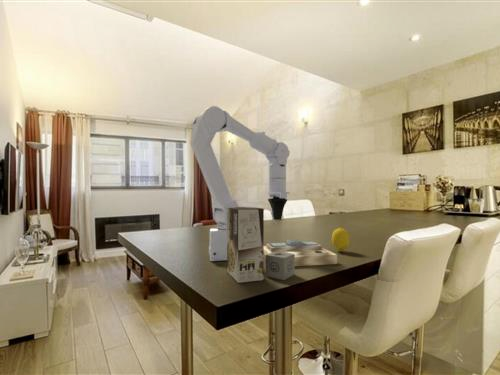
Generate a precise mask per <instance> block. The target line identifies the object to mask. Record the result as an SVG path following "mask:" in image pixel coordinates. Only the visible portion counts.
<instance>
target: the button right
mask: <svg viewBox="0 0 500 375" xmlns="http://www.w3.org/2000/svg"><path fill="white" fill-rule="evenodd" d="M301 242H302V244H303V245H305V246H314V245H317V244H318V243H317V242H315V241H301ZM314 242H315V243H314ZM316 243H317V244H316Z"/></svg>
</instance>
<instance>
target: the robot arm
mask: <svg viewBox="0 0 500 375" xmlns="http://www.w3.org/2000/svg"><path fill="white" fill-rule="evenodd" d="M191 127H192V130H191V138H190V145H191V148H192V151H193V154H194V156H195V159H196V160H197V163H198V166H199V168H200V171H201V173H202V176H203V178H204V181H205V183H206V186H207V188H208V191H209V194H210V195H211V198H212V202H211V203H212V204H211V207H212V210H213V220H214V221H215V223H216V227H215V228H212V227H211V228H210V229H209V246H208V254H209V261H211V262H216V261H217V262H218V261H219V262H221V261H227V208H235V207H240V206H239V205H238V204H239V203H238V202H237V200H236V199H235V198H234V197H233V196H232V195H231V193H230V191H229V187H228V186H227V182H226V181H225V178H224V175H223V172H222V170H221V168H220V165H219V162H218V159H217V157H216V154H215V152H214V150H213V147H212V142H213V140H214V138H215V136H216V134H217V133H222V132H228V133H231V134H232V135H234V136H236V137H239V138H241V139H243V140H245V141H247V142H248V143H249V147H250V148H252V149H254V150H256V151H258V152H259V153H261V154H263V155H264V156H265V157H266V159H267V160H268V192H267V195H268V199H267V201H268V203H269V205H270V207H271V213H272V216H273V220H274V221H277V220H278V221H279V220H282V218H283V217H282V216H283V212H284V208H285V205H286V204H287V203H288V202H287V201H288V195H290V191H287V163H288V158H289V157H290V153H291V151H290V150H289V147H288V145H287V144H286V143H284V142H282V141H279V142H278V141H277V139H276V138H272V137H270V136H268V135H267V134H266V132H265V131H263V130H262V131H260V130H257V131H254V130H252V129H250V128H249V127H247V126H245V125H244V124H243V123H241V122H240V121H239V120H237V119H236V118H234V117H232V116H231V114H230V113H229V112H228V111H226V110H223V109H222V108H220V107H219V106H216V105H212V106H211V105H210V106H209V107H207V108H206V109H205V110H204V111H203V112H202V113H200V114H198V115H197V116H196V117H195V118H194V120H193V122H192V124H191Z"/></svg>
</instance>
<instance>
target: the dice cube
mask: <svg viewBox="0 0 500 375" xmlns="http://www.w3.org/2000/svg"><path fill="white" fill-rule="evenodd" d="M295 268H296V266H295V254H292V253H285V252H279V251H276V252H273V253H270V254H267V255H266V259H265V277H268V278H273V279H277V280H282V281H285V280H287V279H289V278H291V277H293V276H295V275H296V274H295V272H296V271H295V270H296V269H295Z"/></svg>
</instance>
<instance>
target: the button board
mask: <svg viewBox="0 0 500 375" xmlns="http://www.w3.org/2000/svg"><path fill="white" fill-rule="evenodd" d="M313 242H314V243H316V244H317V245H314V246H305V245H303V244H302V246H288V245H286V242H285V243H284V242H282V243H283V244H284V245H286V247H272V246H271V243H266V245H264V259H265V260H266V255H267V254H270V253H273V252H276V251H279V252H285V253H292V254H295V267H303V266H304V267H305V266H306V267H307V266H322V265H323V266H324V265H337V264H338V254H336V253H334V252H332V251H330V250H328V249H326V248H323V245H321V244H319V243H317V242H315V241H313Z"/></svg>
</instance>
